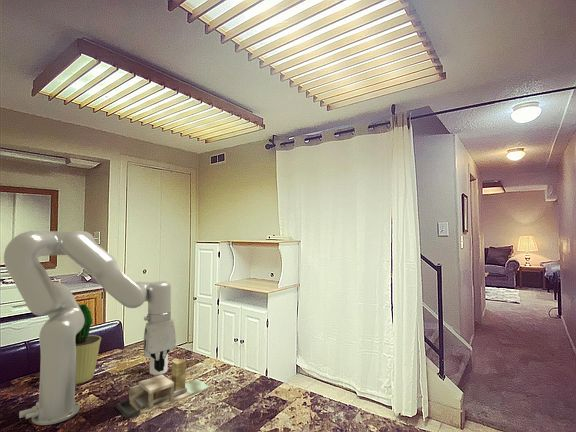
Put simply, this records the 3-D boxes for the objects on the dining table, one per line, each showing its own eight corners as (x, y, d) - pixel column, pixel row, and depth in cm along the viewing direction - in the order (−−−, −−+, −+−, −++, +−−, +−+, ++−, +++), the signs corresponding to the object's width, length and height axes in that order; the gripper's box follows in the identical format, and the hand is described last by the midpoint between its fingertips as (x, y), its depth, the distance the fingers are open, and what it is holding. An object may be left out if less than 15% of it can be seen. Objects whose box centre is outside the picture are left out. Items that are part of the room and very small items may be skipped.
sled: (140, 408, 109) (142, 375, 109) (134, 402, 113) (135, 370, 113) (186, 391, 120) (187, 361, 121) (179, 386, 124) (180, 357, 125)
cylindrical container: (155, 376, 135) (157, 314, 136) (146, 371, 139) (147, 311, 141) (170, 370, 141) (172, 311, 142) (161, 366, 145) (163, 308, 146)
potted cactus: (108, 371, 140) (110, 299, 141) (81, 388, 124) (85, 307, 126) (74, 369, 141) (77, 298, 143) (44, 385, 126) (47, 306, 128)
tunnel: (127, 419, 104) (127, 398, 104) (116, 408, 110) (117, 388, 111) (210, 388, 125) (210, 370, 125) (196, 380, 132) (197, 363, 132)
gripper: (142, 323, 109) (142, 380, 108) (184, 314, 119) (184, 366, 119) (133, 319, 114) (133, 373, 113) (174, 311, 125) (174, 361, 124)
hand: (159, 370), depth 116 cm, fingers closed
